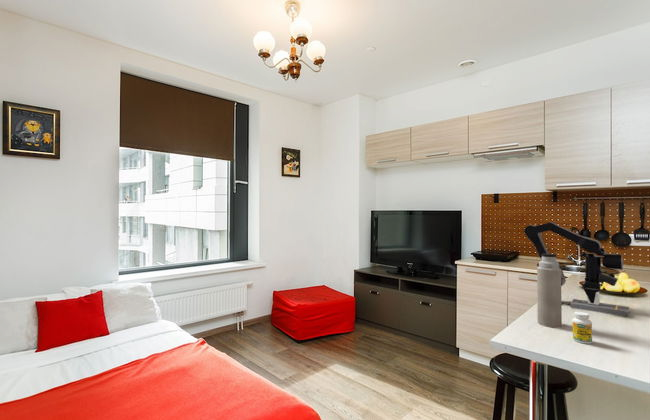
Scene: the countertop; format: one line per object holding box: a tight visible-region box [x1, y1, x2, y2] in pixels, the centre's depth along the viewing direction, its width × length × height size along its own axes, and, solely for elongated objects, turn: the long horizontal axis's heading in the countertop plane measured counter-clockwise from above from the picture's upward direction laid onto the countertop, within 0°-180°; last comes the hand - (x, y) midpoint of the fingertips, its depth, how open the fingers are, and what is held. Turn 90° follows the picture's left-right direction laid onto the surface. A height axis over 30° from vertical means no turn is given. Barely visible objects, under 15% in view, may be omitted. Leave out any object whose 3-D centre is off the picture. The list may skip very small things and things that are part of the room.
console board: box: [569, 298, 630, 317], centre depth 152 cm, size 20×10×2 cm, turn 46°
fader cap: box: [586, 291, 601, 305], centre depth 153 cm, size 4×4×5 cm
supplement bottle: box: [571, 311, 593, 345], centre depth 116 cm, size 5×5×10 cm
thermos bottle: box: [536, 253, 563, 329], centre depth 133 cm, size 8×8×28 cm
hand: (593, 301), depth 153 cm, fingers open, 9 cm apart
